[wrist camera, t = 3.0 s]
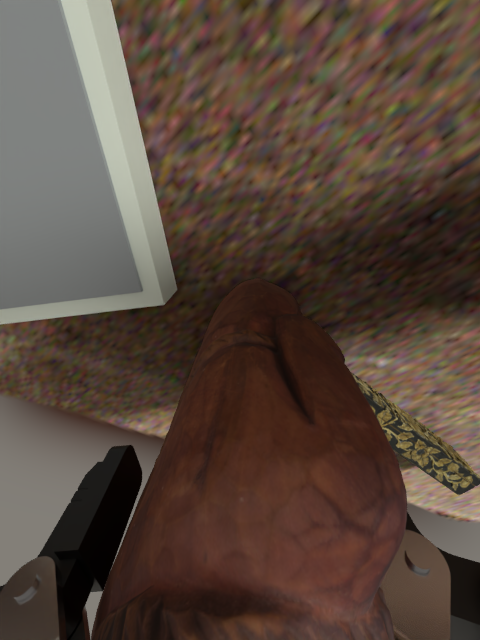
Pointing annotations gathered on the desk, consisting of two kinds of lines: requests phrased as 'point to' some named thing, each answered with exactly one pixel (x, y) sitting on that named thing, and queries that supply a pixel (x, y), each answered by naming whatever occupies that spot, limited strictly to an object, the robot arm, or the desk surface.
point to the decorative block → (420, 443)
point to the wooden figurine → (262, 494)
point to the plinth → (73, 169)
